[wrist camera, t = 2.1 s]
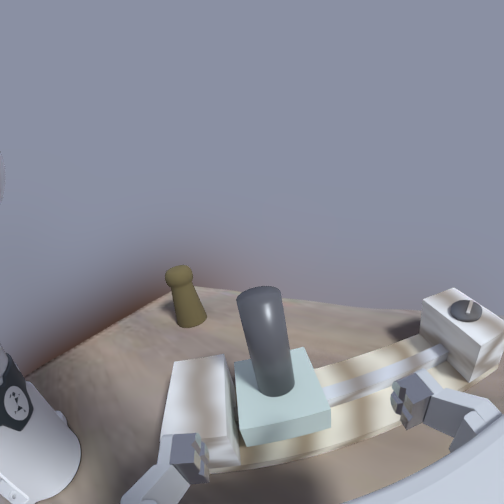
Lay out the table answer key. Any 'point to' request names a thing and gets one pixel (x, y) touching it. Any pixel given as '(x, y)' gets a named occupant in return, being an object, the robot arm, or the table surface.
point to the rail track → (351, 412)
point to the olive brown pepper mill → (185, 297)
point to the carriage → (275, 376)
